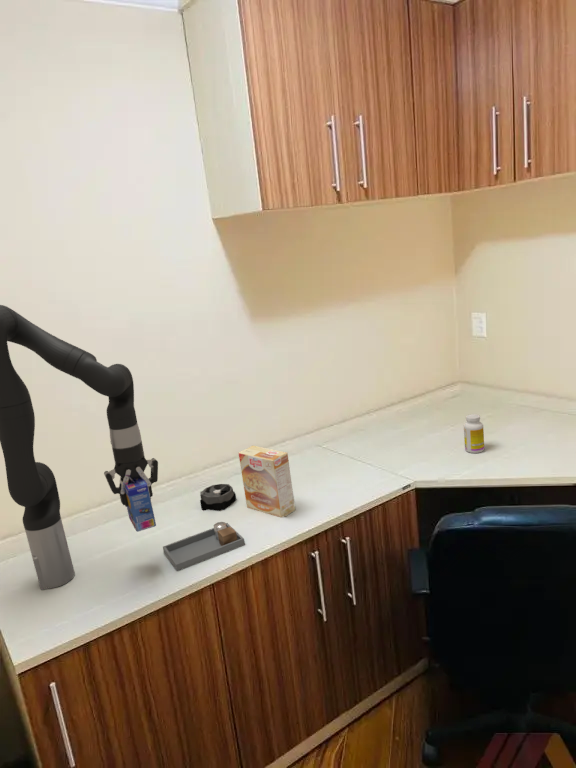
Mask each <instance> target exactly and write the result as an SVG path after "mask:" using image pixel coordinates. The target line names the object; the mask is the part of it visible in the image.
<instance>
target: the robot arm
mask: <svg viewBox="0 0 576 768" xmlns="http://www.w3.org/2000/svg"><path fill="white" fill-rule="evenodd" d="M8 342H9V343H14V344H17V345H20V346H23V347H24V348H27V349H29V350H31V351H32V352H34V353H35V354H37V356H39V357H40V358H41V359H43V360H44V361H45V362H46V363H47V364H48V365H50V366H51V367H53V368H54V369H57V370H59V371H60V372H63V373H64V374H67V375H69V376H71V377H73V378H76V379H78V380H80V381H81V382H83V384H85V385H87V386H88V387H89V388H91V389H92V390H94V391H95V392H97V393H98V394H100V395H101V396H105V397H108V404H107V407H106V418H107V424H108V429H109V441H110V445H111V449H112V454H113V460H114V468H113V469H111V470H109V471H108V470H105V471H104V473H103V475H104V477H105V479H106V481H107V484H108V486H109V488H110V491H111V492H112V493H113V495H117V494H118V495H119V497H120V498H119V499H120V503H121V504H122V506H125V508H127V506H129V505H128V500H127V495H126V493H125V491H126V489H125V486H127V485H128V481H131V480H130V478H131V479H132V480H133V479H137V478H140V477H141V478H142V479H143V480H145V481H146V483H147V485H148V489H149V494H150V498H151V499H152V497H153V496H154V495H153V494H154V493H153V488H152V485H153V484H154V483H157V482H158V478H159V477H158V476H159V462H158V460H157V459H156V458H154V457H153V458H151V459H146V457H145V451H144V448H143V447H144V446H143V441H142V435H141V430H140V427H139V424H138V419H137V413H136V409H135V386H134V378H133V375H132V372H131V370H130V369H129V368H128V367H127V366H126V365H125V364H122V363H113V364H112V365H110V366H105V365H104V364H102V363H101V362H98V360H97V357H96V356H95V355H94V354H92V353H91V352H88V351H87V350H84V349H82V348H81V347H78V346H76V345H73V344H71V343H69V342H67V341H66V340H63V339H62V338H61V339H60V338H59V337H57V336H55V335H54V334H52V333H49V332H48V331H46V330H45V329H43V328H41V327H39V326H38V325H37V324H35V323H33V322H31V320H28V319H27V318H25V317H24V316H22V315H21V314H20V313H18V312H17V311H16V310H14V309H12V308H10V307H8V306H7V305H4V304H3V305H2V304H0V447H1V450H2V453H3V458H4V464H5V465H4V466H5V473H6V474H5V475H6V480H7V488H8V492H9V495H10V497H11V498H12V500H13V501H14V502H15V503H16V504H17V505H18V506H21V507H23V508H24V510H23V511H24V512H23V515H22V525H23V528H24V531H25V534H26V539H27V542H28V546H29V550H30V553H31V558H32V562H33V564H34V565H33V567H34V569H35V573H36V577H37V582H38V584H39V587H40V588H39V589H40V590H41V591H42V590H46V589H55V588H59V587H61V586H63V585H66V584H67V583H68V582H71V580H72V579H73V578H74V577H75V569H74V564H73V561H72V556H71V552H70V548H69V545H68V541H67V537H66V532H65V528H64V524H63V519H62V516H61V499H60V496H59V495H60V494H59V490H58V486H57V485H58V484H57V480H56V477H55V474H54V472H53V471H52V469H51V468H50V466H48V465H47V464H45V463H44V462H40V461H36V458H35V455H34V454H35V453H34V444H35V443H34V441H35V427H36V426H35V425H36V418H35V417H36V416H35V411H34V407H33V402H32V398H31V394H30V391H29V390H28V387H27V386H26V383H25V382H24V381H23V379H22V378H21V376H20V375H19V374H18V373H17V371H16V370H15V367H14V366H13V362H12V360H11V356H10V351H9V346H8V345H9V344H8ZM147 466H148V467H149V468H150V477H149V478H148V476H147V475H146V474H145V470H146V468H147ZM115 475H118V476H119V477H120V478H119V484H118V487H117V486H116V484H115V482H114V480H115V478H116V476H115ZM128 476H129V477H130V478H129V477H128Z"/></svg>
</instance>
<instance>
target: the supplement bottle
mask: <svg viewBox="0 0 576 768" xmlns="http://www.w3.org/2000/svg"><path fill="white" fill-rule="evenodd" d="M465 419H466V422H465V423H463V434H464V435H463V436H464V437H463V438H464V450H465V451H466V452H467V453H469V454H470V453H471V454H477V453H478V454H479V453H482V452H484V451H485V435H484V434H485V433H484V430H485V429H484V424H483V422H481V421H480V420H481V416H480V415H479V414H477V413H475V414H474V413H472V414H467V415H466V416H465Z"/></svg>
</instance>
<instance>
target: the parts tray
mask: <svg viewBox="0 0 576 768" xmlns="http://www.w3.org/2000/svg"><path fill="white" fill-rule="evenodd" d="M225 523H226V527H231V528H232V529H233V530H235V529H234V528H233V527H232V526H231V525H230V524H229V523H228V522H225ZM236 535H237V540H236V541H234V542H231V543H228V544H226V545H223V546H221V545H220V543H219V540H216V537H215V531H214V527H212V528H209V529H207V530H204V531H201V532H199V533H196V534H193V535H191V536H188V537H185V538H183V539H179V540H177V541H174V542H171V543H169V544H166V545H163V546H162V550H163V554H164V555H165V556H166V558H167V559H168V560H169V562H170V563H171V565H172V566H173V567H174V569H175V570H176V572H179V571H181V570H182V571H183V570H185V569H187V568H189V567H192V566H195V565H197V564H200V563H202V562H205V561H207V560H210V559H213V558H215V557H217V556H220V555H223V554H226V553H228V552H230V551H232V550H236V549H238V548H241V547H243V546H245V545H246V544H245V543H246V542H245V538H244V537H243V536H242V535H241V534H240V533H239V532H237V531H236Z"/></svg>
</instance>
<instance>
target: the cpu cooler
mask: <svg viewBox="0 0 576 768" xmlns="http://www.w3.org/2000/svg"><path fill="white" fill-rule="evenodd" d="M199 493H200V500H199V501H200V502H199V503H200V508H201V510H202V511H209V510H210V511H216V512H221V511H225V510H227V508H229V507H230V506H231V505H232V504H233V503H235V502H236V501H237V497H236V496H237V495H236V494H237V493H236V492H235V491H234V489H233V486H231V485H230V484H229V483H218V484H212V485H210V486H208V487H206V488H203V490H202V491H200V492H199Z"/></svg>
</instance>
